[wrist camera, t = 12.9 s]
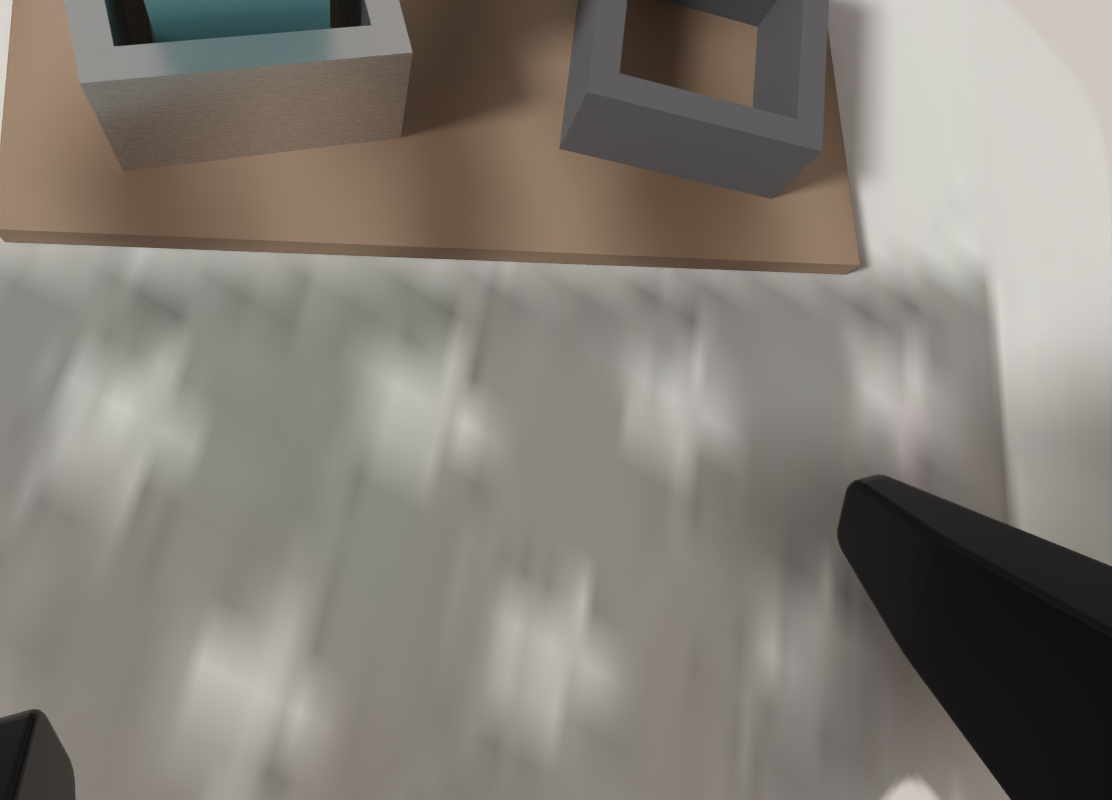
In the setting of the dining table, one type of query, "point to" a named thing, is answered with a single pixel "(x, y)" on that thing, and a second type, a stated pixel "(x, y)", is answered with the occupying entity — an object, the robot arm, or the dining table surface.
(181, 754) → the dining table surface
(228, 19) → the plug
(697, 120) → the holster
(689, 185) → the panel board
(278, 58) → the port
